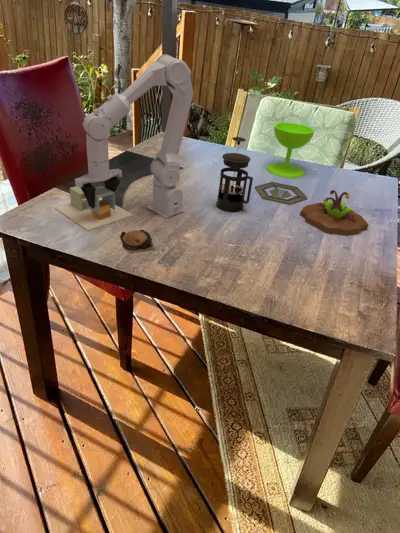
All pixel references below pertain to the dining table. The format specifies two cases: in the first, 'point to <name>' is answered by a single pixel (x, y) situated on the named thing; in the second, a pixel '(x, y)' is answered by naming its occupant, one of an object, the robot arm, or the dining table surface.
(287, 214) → the dining table surface
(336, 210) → the plant
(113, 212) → the mat
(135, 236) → the wood slice
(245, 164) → the french press
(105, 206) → the orange block
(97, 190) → the near cover
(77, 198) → the far cover
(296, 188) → the hexagonal trivet
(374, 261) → the dining table surface
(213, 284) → the dining table surface
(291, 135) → the wineglass
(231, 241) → the dining table surface
